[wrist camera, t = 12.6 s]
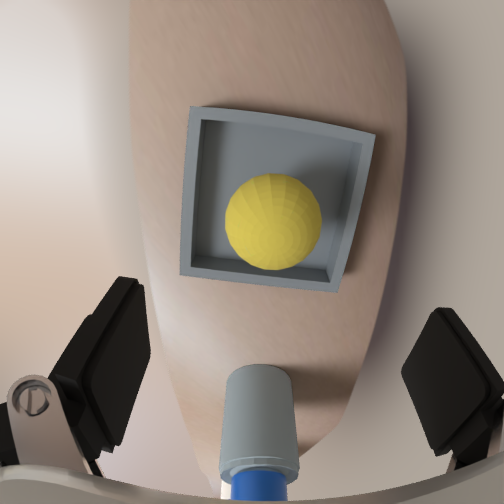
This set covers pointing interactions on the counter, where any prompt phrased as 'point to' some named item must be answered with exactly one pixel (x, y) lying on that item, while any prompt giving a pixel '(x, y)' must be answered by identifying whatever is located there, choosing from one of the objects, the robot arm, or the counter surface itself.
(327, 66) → the counter surface
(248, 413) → the spray bottle
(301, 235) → the light bulb
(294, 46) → the counter surface
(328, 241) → the tray
